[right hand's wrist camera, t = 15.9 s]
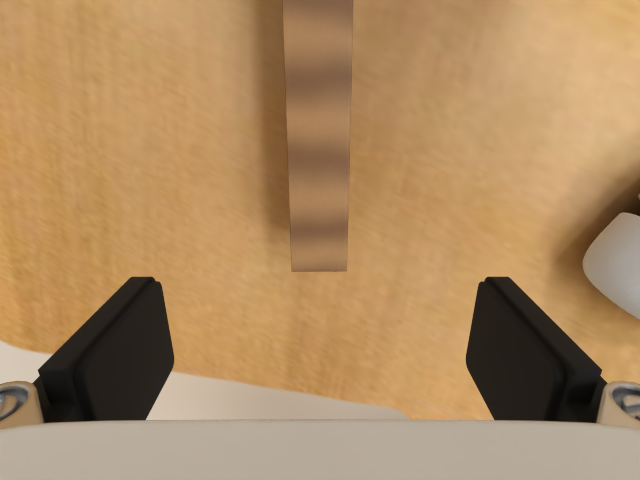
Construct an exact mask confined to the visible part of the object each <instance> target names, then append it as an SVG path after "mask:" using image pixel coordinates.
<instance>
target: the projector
mask: <svg viewBox="0 0 640 480" xmlns="http://www.w3.org/2000/svg"><path fill="white" fill-rule="evenodd" d="M638 198H639V200H640V194H639V195H638ZM583 270H584V273H585V275H586V277H587V278H588V279H589V281H590V282H591V283H592V284H593V285H594V286H595V287H596V288H597V289H598V290H599V291H600V292H601V293H602V294H604V295H605V296H606V297H607V298H609V299H610V300H611V301H612V302H614V303H615V304H616V305H618V306H619V307H621V308H622V309H623V310H625V311H626V312H628V313H629V314H631V315H632V316H634V317H636V318H637V319H639V320H640V216H637V215H634V214H631V213H625V212H623V213H620V214H619V215H618V216H617V217H616V218H615V219H614V220H613V221H612V222H611V223H610V224H609V225H608V226H607V227H606V228H605V229H604V230H603V231H602V232H601V233H600V234H599V235H598V237H597V238H596V239H595V240H594V241H593V242H592V244H591V245H590V247H589V248H588V250H587V251H586V254H585V256H584V259H583Z"/></svg>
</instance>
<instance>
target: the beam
mask: <svg viewBox="0 0 640 480" xmlns="http://www.w3.org/2000/svg"><path fill="white" fill-rule="evenodd" d="M282 7H283V36H284V65H285V94H286V123H287V152H288V181H289V210H290V239H291V268H292V272H323V271H347V245H348V203H349V160H350V117H351V74H352V32H353V0H282Z"/></svg>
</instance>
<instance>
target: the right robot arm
mask: <svg viewBox="0 0 640 480" xmlns="http://www.w3.org/2000/svg"><path fill="white" fill-rule="evenodd" d="M173 365H174V353H173V348H172V342H171V336H170V330H169V325H168V319H167V313H166V308H165V302H164V296H163V290H162V286H161V283H160V282H156V281H155V279H154V278H153V277H131V278H130V279H129V280H128V281H127V282H126V283H125V284H124V285H123V286H122V287H121V288H120V289H119V290H118V291H117V292H116V293H115V294H114V295H113V296H112V297H111V298H110V299H109V300H108V301H107V302H106V303H105V304H104V305H103V306H101V307H100V308H99V309H98V310H97V311H96V312H95V313H94V314H93V315H92V316H91V317H90V318H89V319H88V320H87V321H86V322H85V323H84V324H83V325H82V326H81V327H80V328H79V329H78V330H77V331H76V332H75V333H74V334H73V335H72V336H71V337H70V338H69V339H68V340H67V341H66V342H65V343H64V344H63V345H62V346H61V347H60V348H59V349H58V350H57V351H56V352H55V353H54V354H53V355H52V356H51V357H50V358H49V360H47V361H46V362H45V363H44V364H43V365H42V366H41V367H40V368H39V369H38V372H39V375H40V376H39V377H38V378H37V379H36V380H35V381H34V382H33V383H29V382H26V381H14V382H7V383H3V384H0V480H640V384H637V383H634V382H626V381H614V382H611V383H607V382H606V381H605V380H604V379H603V378H602V377H601V376H600V375H601V372H602V369H601V368H600V367H599V366H598V365H597V364H596V363H595V362H594V361H593V360H592V359H591V358H590V357H589V356H588V355H587V354H586V353H585V352H584V351H583V350H582V349H581V348H580V347H579V346H578V345H577V344H576V343H575V342H574V341H573V340H572V339H571V338H570V337H569V336H568V335H567V334H566V333H565V332H564V331H563V330H562V329H561V328H560V327H559V326H558V325H557V324H556V323H555V322H554V321H553V320H552V319H551V318H550V317H549V316H548V315H547V314H546V313H545V312H544V311H543V310H542V309H541V308H540V307H539V306H537V305H536V304H535V303H534V302H533V301H532V300H531V299H530V298H529V297H528V296H527V295H526V294H525V293H524V292H523V291H522V290H521V289H520V288H519V287H518V286H517V285H516V284H515V283H514V282H513V281H512V280H511V279H510V278H509V277H487V278H486V279H485V281H484V282H480V283H479V286H478V290H477V296H476V302H475V308H474V313H473V319H472V325H471V330H470V336H469V342H468V348H467V353H466V365H467V368H468V371H469V372H470V374H471V376H472V378H473V380H474V382H475V384H476V386H477V388H478V390H479V391H480V393H481V395H482V397H483V399H484V401H485V403H486V405H487V407H488V409H489V410H490V412H491V414H492V416H493V418H494V420H375V419H372V420H371V419H275V420H274V419H273V420H272V419H270V420H269V419H267V420H266V419H264V420H146V418H147V416H148V414H149V412H150V410H151V409H152V407H153V405H154V403H155V401H156V399H157V397H158V395H159V393H160V391H161V390H162V388H163V386H164V384H165V382H166V380H167V378H168V376H169V374H170V372H171V371H172V368H173Z"/></svg>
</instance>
